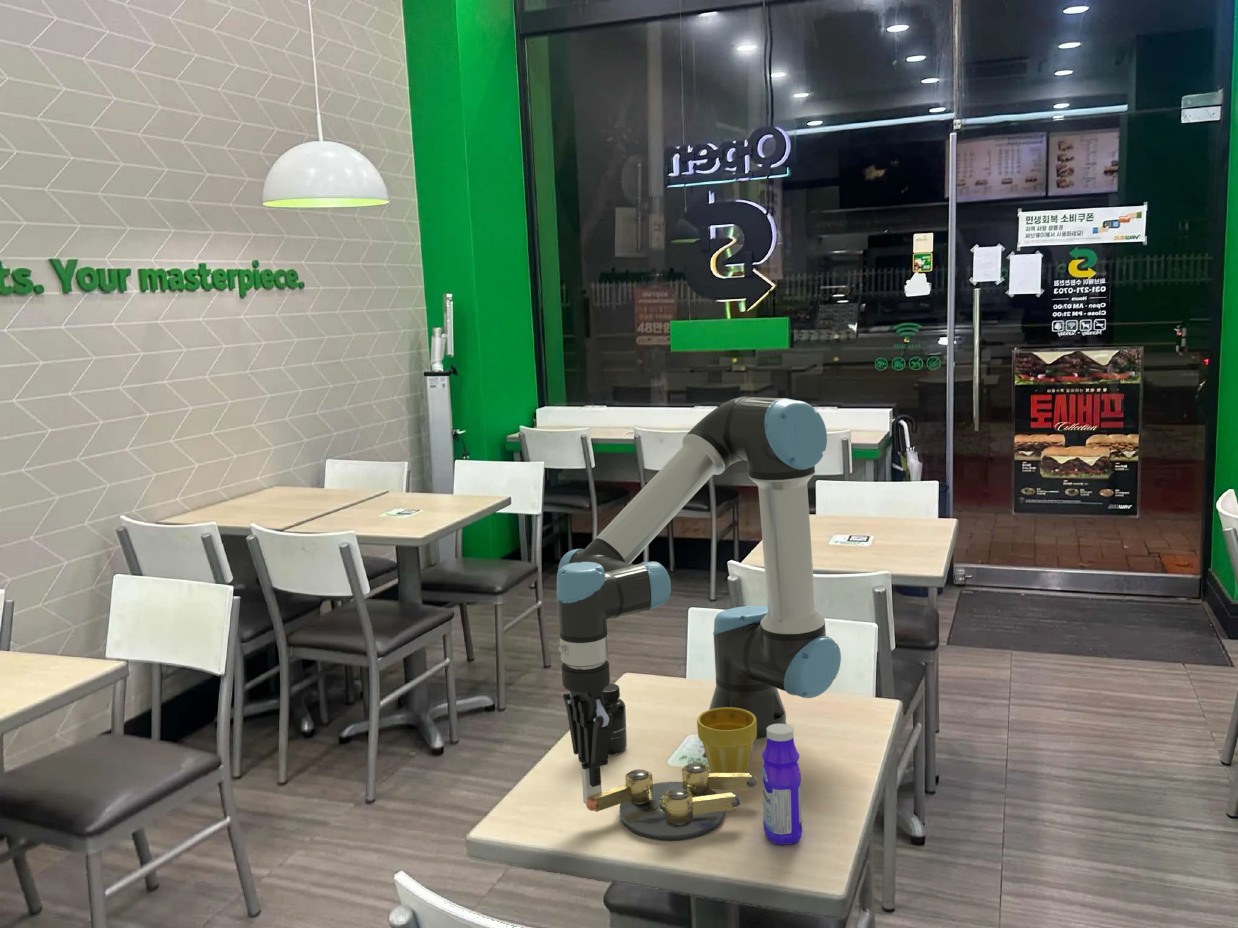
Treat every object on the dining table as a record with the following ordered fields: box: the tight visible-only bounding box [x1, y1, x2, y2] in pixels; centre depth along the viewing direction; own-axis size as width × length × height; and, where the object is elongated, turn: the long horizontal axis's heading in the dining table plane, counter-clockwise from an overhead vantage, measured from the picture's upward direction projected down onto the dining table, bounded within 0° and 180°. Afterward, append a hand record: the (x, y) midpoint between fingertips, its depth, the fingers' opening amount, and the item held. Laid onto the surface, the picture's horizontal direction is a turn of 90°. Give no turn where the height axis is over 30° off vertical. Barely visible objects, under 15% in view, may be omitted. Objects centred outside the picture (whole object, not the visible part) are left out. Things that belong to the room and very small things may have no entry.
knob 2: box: [664, 788, 742, 824], centre depth 162 cm, size 12×4×4 cm, turn 99°
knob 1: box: [585, 768, 654, 813], centre depth 167 cm, size 12×4×4 cm, turn 123°
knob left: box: [681, 762, 758, 796], centre depth 170 cm, size 12×4×4 cm, turn 84°
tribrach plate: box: [619, 781, 726, 842], centre depth 167 cm, size 17×17×3 cm
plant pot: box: [696, 707, 757, 773], centre depth 181 cm, size 10×10×10 cm
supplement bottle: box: [602, 683, 628, 756], centre depth 193 cm, size 7×7×12 cm
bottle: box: [761, 723, 803, 845], centre depth 158 cm, size 7×6×17 cm
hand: (592, 801), depth 166 cm, fingers closed
